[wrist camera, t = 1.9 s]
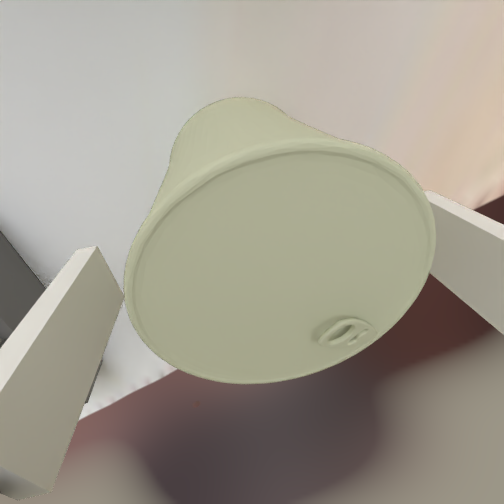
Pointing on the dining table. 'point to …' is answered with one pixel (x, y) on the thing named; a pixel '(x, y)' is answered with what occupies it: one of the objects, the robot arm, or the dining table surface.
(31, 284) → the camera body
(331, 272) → the can
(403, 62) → the dining table surface
